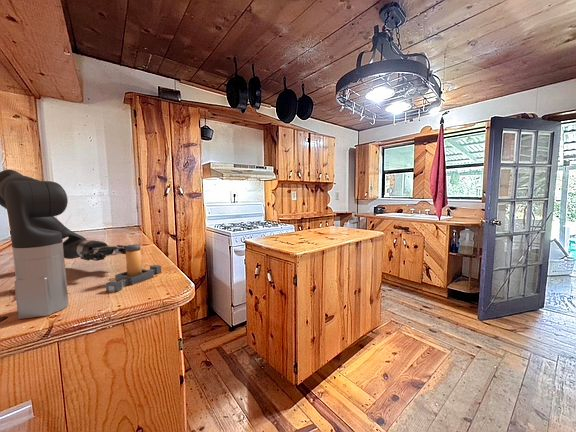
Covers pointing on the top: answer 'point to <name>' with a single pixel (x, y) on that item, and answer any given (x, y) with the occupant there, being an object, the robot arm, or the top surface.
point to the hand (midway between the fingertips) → (116, 254)
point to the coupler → (133, 260)
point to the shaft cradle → (131, 278)
